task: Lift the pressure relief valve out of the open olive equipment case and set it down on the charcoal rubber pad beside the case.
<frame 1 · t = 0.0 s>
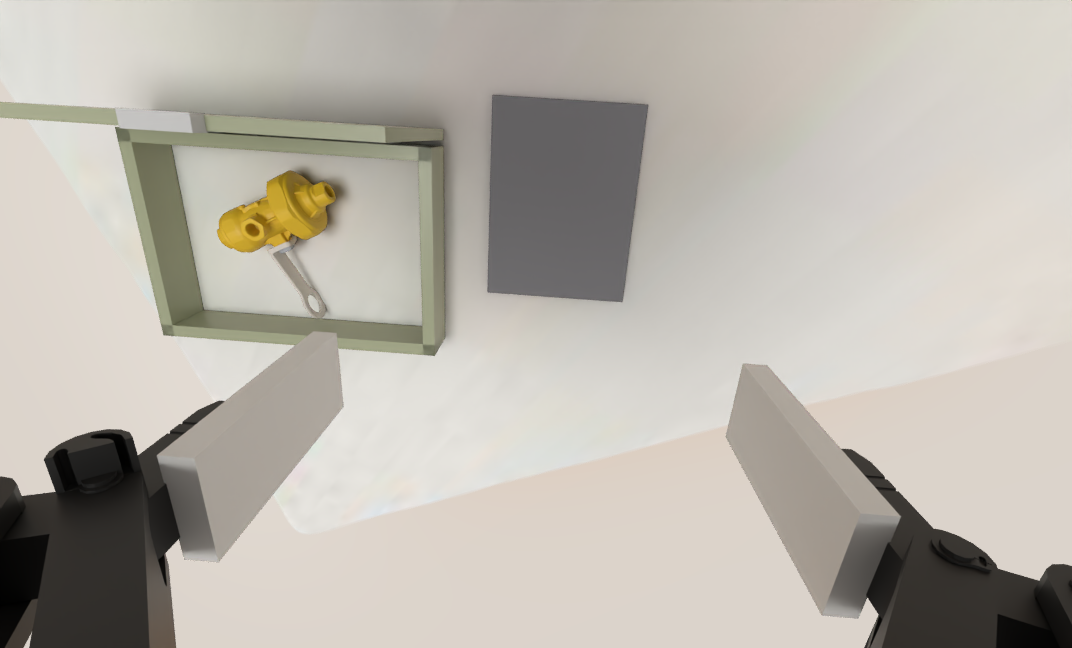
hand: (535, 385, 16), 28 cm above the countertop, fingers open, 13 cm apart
pad: (561, 204, 41), on the countertop
case: (309, 239, 43), on the countertop
pressure relief valve: (315, 244, 44), resting in case
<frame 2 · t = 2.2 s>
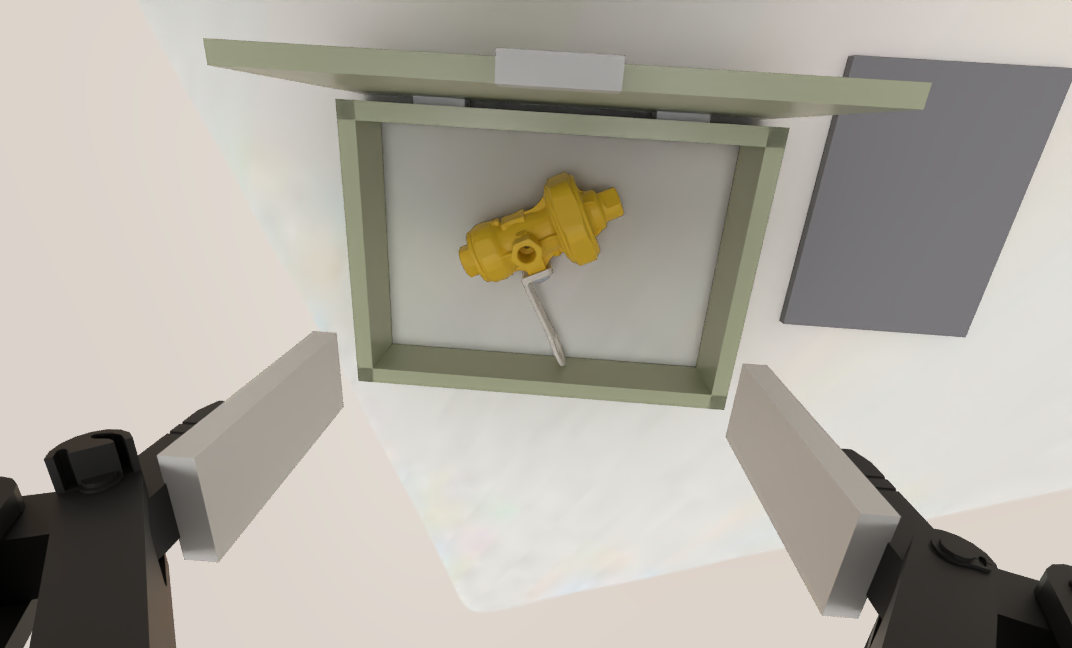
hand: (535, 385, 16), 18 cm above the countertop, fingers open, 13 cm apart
pad: (908, 207, 31), on the countertop
case: (550, 253, 33), on the countertop
pressure relief valve: (560, 269, 34), resting in case
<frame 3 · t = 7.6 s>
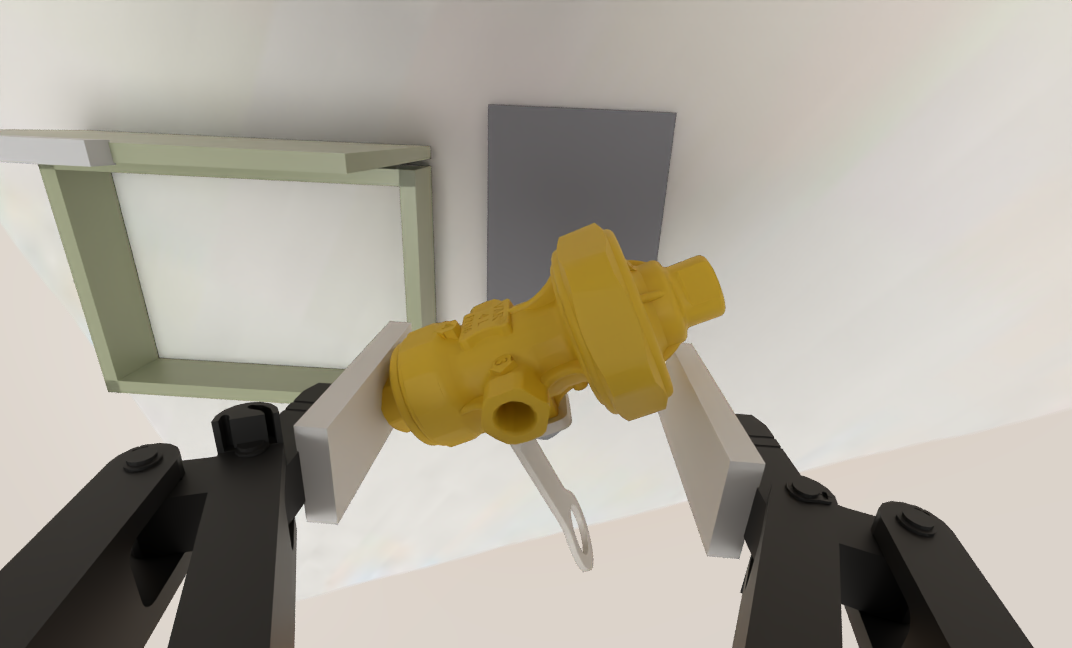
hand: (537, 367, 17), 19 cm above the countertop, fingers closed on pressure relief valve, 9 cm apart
pad: (572, 232, 35), on the countertop
case: (277, 276, 37), on the countertop
pressure relief valve: (582, 390, 18), point 19 cm above the countertop, touching gripper
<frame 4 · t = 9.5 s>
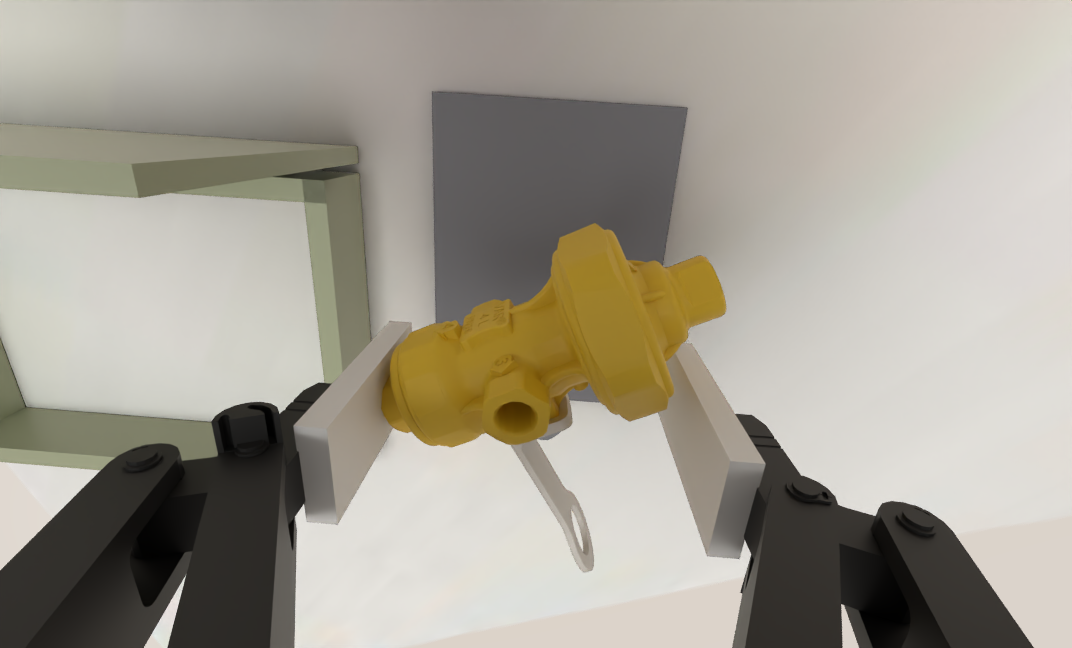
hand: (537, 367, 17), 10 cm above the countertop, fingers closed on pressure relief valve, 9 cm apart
pad: (547, 262, 27), on the countertop
case: (166, 311, 29), on the countertop
pressure relief valve: (582, 390, 18), point 10 cm above the countertop, touching gripper
when the fingers open (4 cm above the countertop, at t = 11.1 s): pressure relief valve drops 3 cm, resting on pad.
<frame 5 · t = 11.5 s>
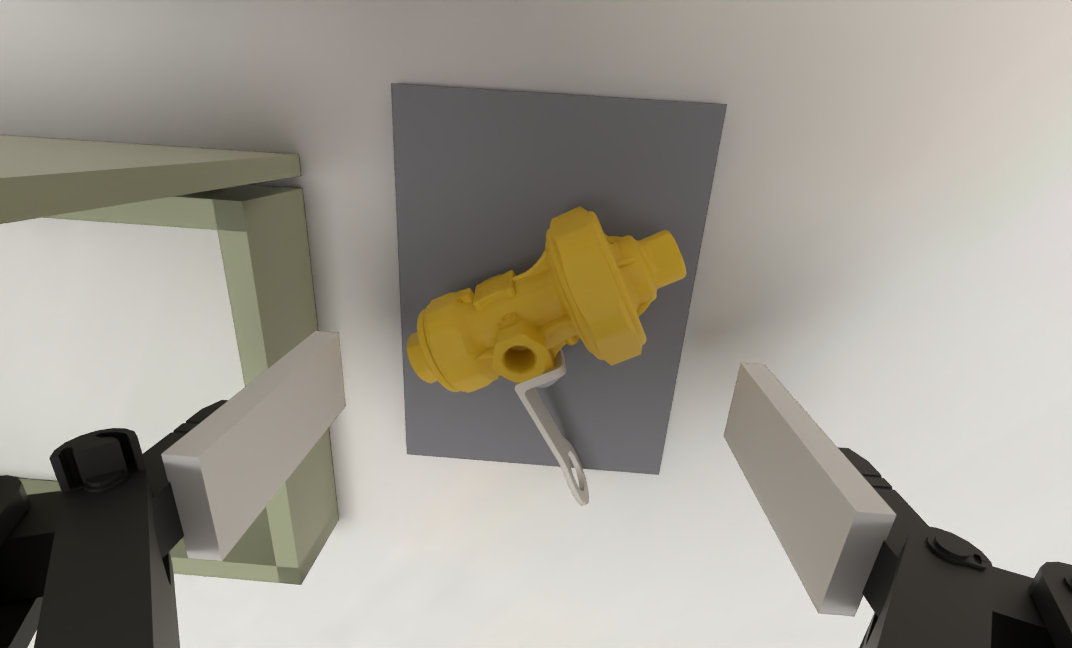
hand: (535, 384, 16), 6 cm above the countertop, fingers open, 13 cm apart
pad: (543, 300, 21), on the countertop
case: (72, 357, 23), on the countertop
pressure relief valve: (575, 352, 21), resting on pad
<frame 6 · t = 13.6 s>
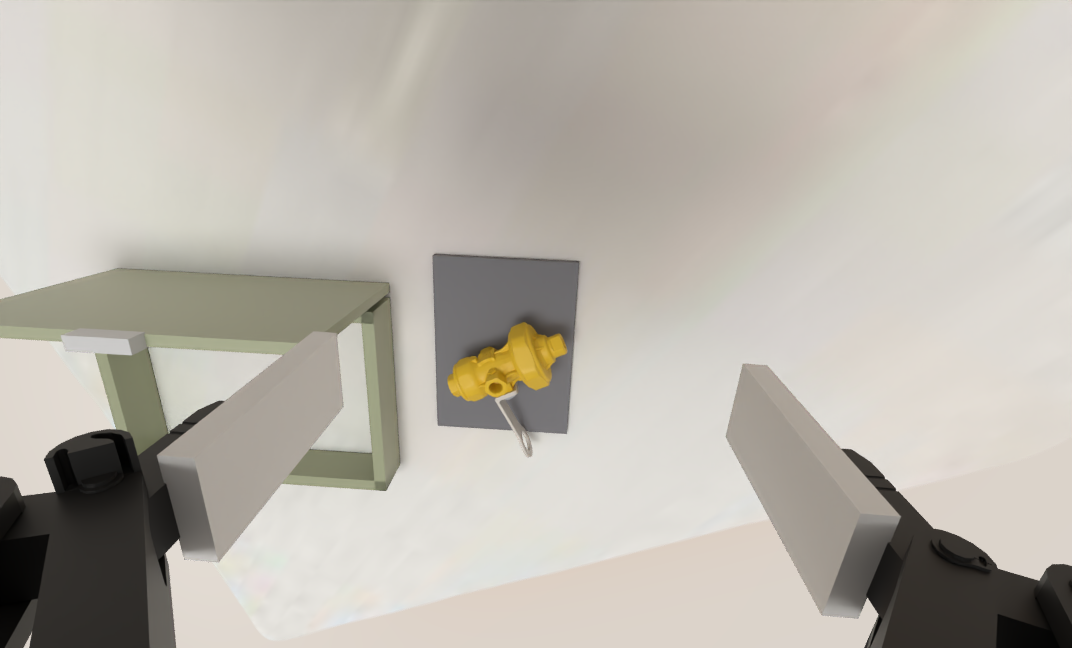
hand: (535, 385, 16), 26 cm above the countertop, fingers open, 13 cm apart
pad: (504, 347, 43), on the countertop
case: (267, 378, 46), on the countertop
pressure relief valve: (526, 382, 44), resting on pad
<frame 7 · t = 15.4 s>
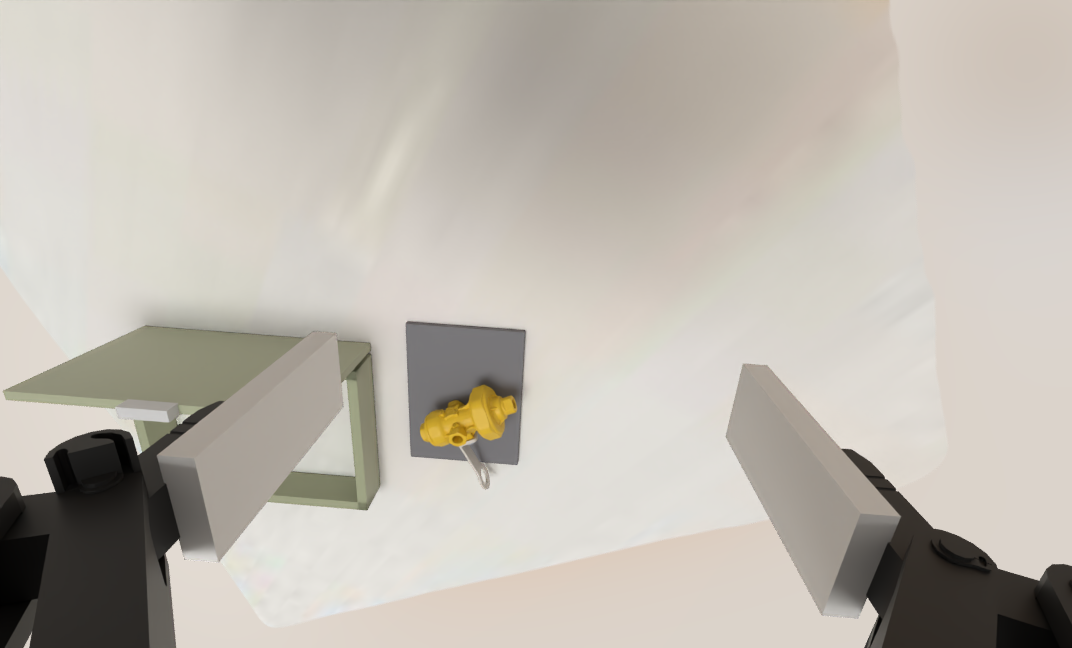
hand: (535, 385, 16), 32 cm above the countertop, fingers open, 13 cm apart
pad: (465, 395, 53), on the countertop
case: (269, 415, 55), on the countertop
pressure relief valve: (485, 428, 54), resting on pad
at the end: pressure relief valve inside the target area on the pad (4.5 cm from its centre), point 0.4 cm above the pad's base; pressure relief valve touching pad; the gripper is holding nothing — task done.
